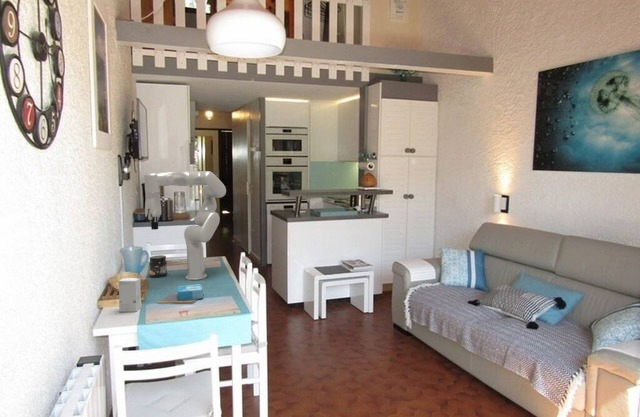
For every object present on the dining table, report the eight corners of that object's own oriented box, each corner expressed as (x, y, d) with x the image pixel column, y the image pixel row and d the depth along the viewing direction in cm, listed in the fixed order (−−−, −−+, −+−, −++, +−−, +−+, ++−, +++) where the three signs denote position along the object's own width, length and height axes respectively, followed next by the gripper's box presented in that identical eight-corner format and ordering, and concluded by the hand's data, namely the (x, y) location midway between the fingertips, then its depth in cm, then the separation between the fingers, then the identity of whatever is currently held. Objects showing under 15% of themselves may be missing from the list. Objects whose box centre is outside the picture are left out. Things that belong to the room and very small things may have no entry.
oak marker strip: (158, 302, 222) (158, 301, 221) (193, 303, 219) (193, 301, 219) (157, 303, 220) (156, 301, 220) (192, 304, 218) (192, 302, 218)
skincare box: (119, 312, 209) (117, 280, 207) (125, 308, 215) (122, 277, 213) (137, 311, 209) (135, 280, 207) (142, 307, 215) (140, 277, 213)
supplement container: (147, 276, 279) (146, 257, 278) (163, 273, 286) (162, 254, 285) (153, 278, 271) (152, 259, 270) (170, 275, 278) (169, 256, 277)
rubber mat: (171, 294, 235) (171, 293, 235) (204, 295, 233) (203, 294, 233) (158, 302, 222) (158, 301, 222) (193, 303, 219) (193, 302, 219)
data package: (201, 283, 236) (202, 289, 225) (201, 292, 237) (203, 298, 226) (177, 286, 233) (177, 292, 221) (177, 294, 233) (178, 301, 222)
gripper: (153, 195, 252) (155, 227, 254) (139, 197, 237) (141, 231, 239) (165, 194, 251) (167, 227, 253) (152, 196, 236) (154, 231, 238)
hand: (154, 229), depth 246 cm, fingers closed
